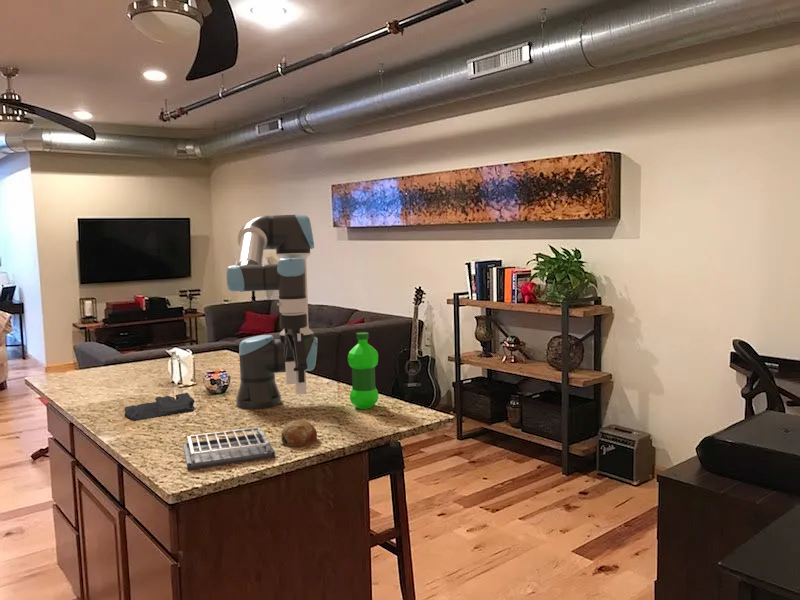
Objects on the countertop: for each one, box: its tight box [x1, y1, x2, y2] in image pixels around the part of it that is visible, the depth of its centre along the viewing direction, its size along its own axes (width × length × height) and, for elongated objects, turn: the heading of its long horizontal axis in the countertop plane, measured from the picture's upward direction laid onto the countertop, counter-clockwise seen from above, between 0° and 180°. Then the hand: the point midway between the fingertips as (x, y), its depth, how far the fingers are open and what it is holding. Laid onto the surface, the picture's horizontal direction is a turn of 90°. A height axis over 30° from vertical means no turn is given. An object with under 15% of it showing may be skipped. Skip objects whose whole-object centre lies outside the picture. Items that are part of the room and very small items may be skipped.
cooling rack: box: [182, 426, 276, 471], centre depth 180 cm, size 18×22×4 cm
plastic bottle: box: [347, 331, 379, 410], centre depth 223 cm, size 10×10×25 cm
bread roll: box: [281, 420, 318, 448], centre depth 189 cm, size 10×10×8 cm
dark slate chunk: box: [123, 392, 197, 422], centre depth 224 cm, size 15×22×5 cm
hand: (296, 388), depth 187 cm, fingers open, 13 cm apart
